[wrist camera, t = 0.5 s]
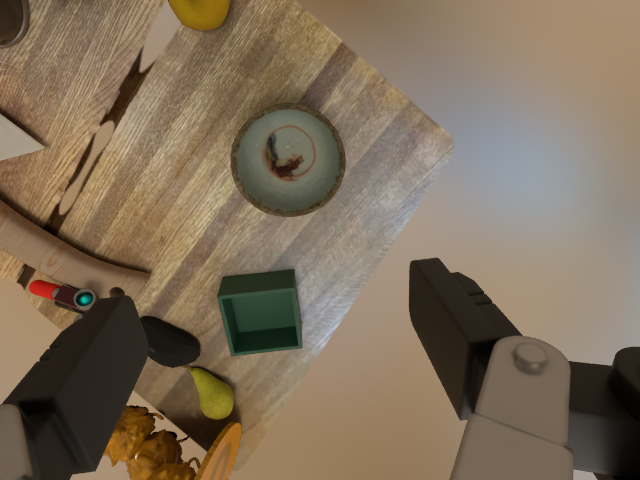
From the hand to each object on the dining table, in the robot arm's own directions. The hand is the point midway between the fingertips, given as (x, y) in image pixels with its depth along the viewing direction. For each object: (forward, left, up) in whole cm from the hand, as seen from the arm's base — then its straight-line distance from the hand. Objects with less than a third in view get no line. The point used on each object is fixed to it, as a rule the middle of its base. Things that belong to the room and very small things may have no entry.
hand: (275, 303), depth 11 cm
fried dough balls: (+57, -19, -32) cm, 68 cm away
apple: (-14, -8, -43) cm, 46 cm away
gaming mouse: (+32, -25, -43) cm, 59 cm away
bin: (+28, -7, -43) cm, 52 cm away
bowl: (+4, 0, -43) cm, 43 cm away
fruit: (+48, -16, -39) cm, 64 cm away
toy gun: (+19, -33, -39) cm, 55 cm away
